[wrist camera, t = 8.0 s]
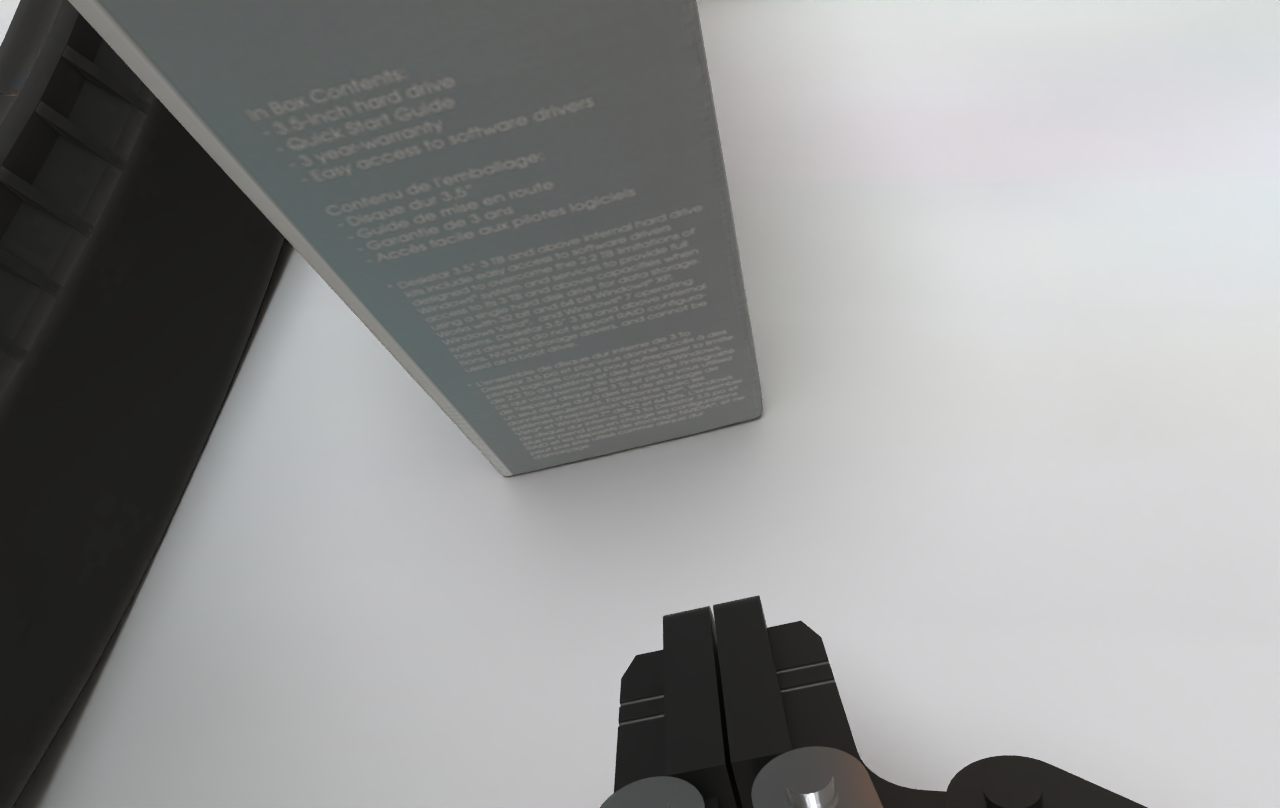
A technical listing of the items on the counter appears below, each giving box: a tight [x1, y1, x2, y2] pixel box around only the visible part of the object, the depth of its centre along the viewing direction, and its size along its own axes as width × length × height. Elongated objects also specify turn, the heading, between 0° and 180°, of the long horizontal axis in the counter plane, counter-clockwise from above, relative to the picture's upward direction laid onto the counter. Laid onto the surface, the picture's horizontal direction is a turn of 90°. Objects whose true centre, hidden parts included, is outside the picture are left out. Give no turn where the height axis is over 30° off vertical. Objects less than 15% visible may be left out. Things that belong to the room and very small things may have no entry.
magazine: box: [0, 0, 284, 808], centre depth 22 cm, size 17×3×30 cm
